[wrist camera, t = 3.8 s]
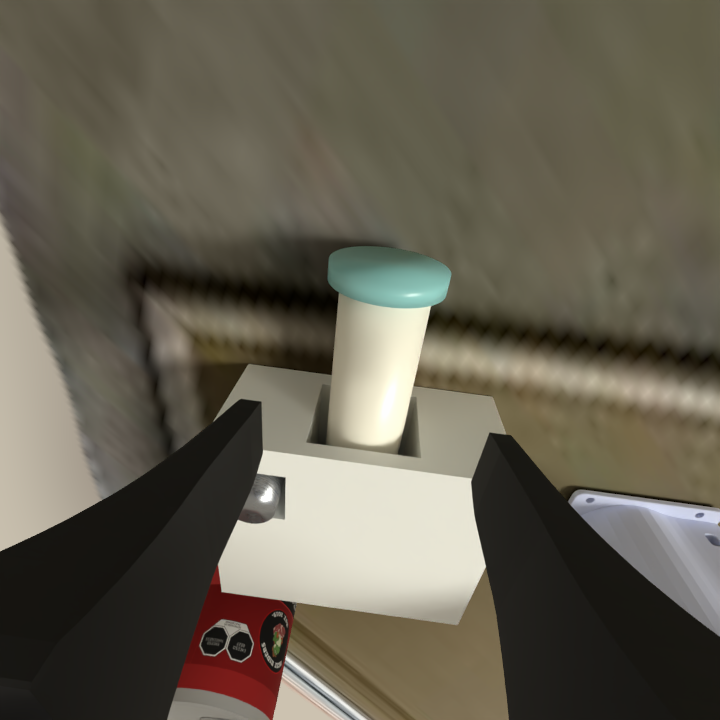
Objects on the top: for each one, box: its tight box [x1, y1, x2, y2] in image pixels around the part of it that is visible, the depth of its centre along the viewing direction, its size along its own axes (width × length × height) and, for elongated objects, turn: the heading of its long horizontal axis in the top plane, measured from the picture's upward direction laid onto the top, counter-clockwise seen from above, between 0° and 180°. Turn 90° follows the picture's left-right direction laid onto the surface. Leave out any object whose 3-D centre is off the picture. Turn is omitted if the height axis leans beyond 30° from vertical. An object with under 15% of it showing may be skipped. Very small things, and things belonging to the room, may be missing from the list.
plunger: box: [238, 474, 286, 524], centre depth 19 cm, size 2×2×4 cm
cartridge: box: [326, 246, 451, 455], centre depth 20 cm, size 5×17×5 cm, turn 174°
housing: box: [214, 364, 506, 625], centre depth 23 cm, size 14×12×6 cm
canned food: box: [167, 566, 297, 720], centre depth 27 cm, size 8×8×11 cm
